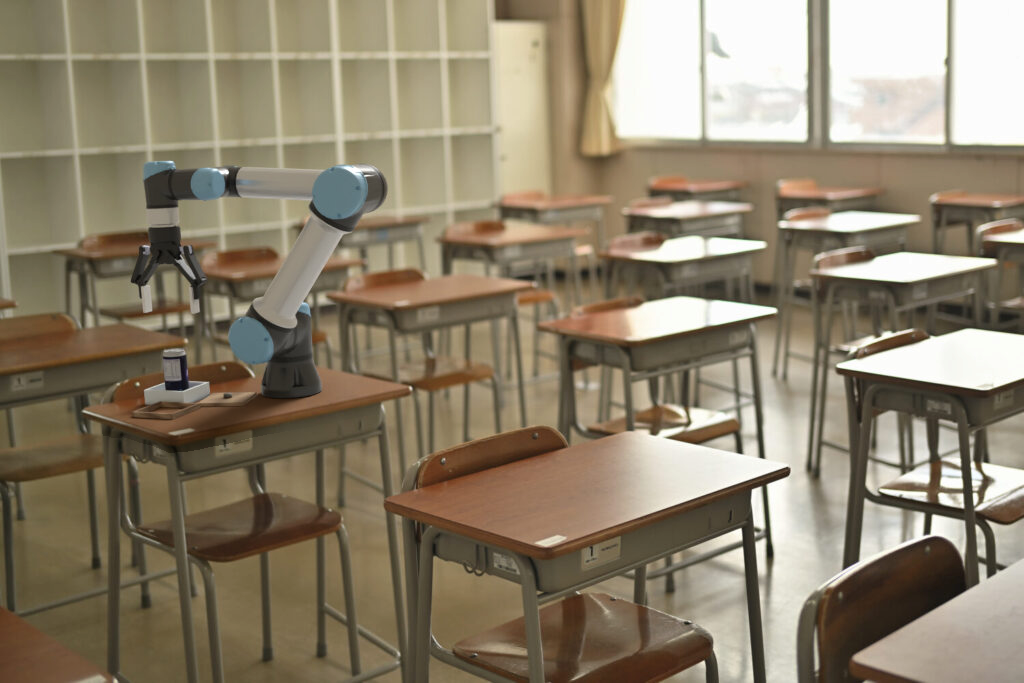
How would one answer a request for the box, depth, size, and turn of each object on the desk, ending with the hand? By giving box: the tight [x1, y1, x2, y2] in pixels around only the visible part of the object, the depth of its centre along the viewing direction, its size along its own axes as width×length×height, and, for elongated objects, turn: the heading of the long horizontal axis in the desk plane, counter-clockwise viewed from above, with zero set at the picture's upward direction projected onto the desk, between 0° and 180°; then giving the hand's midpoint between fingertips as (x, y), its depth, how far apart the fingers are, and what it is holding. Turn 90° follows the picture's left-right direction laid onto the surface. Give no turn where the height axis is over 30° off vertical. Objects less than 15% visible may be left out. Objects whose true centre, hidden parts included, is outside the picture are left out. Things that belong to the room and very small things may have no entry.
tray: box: [143, 380, 211, 406], centre depth 293 cm, size 11×11×4 cm
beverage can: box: [162, 347, 190, 391], centre depth 292 cm, size 6×6×12 cm
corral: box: [131, 401, 201, 420], centre depth 281 cm, size 11×11×1 cm
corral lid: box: [198, 391, 257, 407], centre depth 291 cm, size 11×11×2 cm
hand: (171, 312), depth 290 cm, fingers open, 13 cm apart
